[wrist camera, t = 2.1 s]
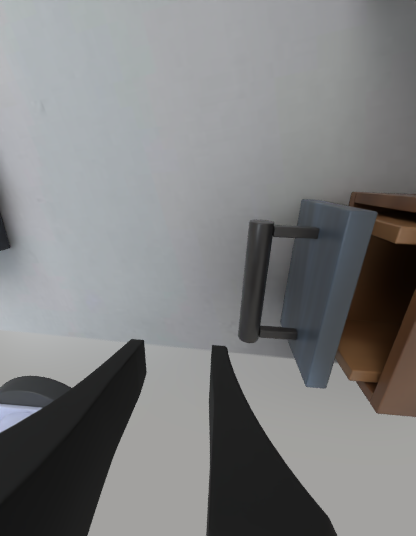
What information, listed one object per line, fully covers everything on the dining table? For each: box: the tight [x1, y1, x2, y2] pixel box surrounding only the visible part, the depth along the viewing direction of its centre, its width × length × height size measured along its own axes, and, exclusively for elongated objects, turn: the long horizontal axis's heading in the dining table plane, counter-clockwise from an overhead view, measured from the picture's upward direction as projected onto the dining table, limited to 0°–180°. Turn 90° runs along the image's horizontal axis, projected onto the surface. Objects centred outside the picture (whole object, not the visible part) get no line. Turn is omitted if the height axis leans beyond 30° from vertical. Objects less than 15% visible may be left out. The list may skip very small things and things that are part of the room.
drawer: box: [238, 199, 416, 388], centre depth 15 cm, size 14×10×7 cm
